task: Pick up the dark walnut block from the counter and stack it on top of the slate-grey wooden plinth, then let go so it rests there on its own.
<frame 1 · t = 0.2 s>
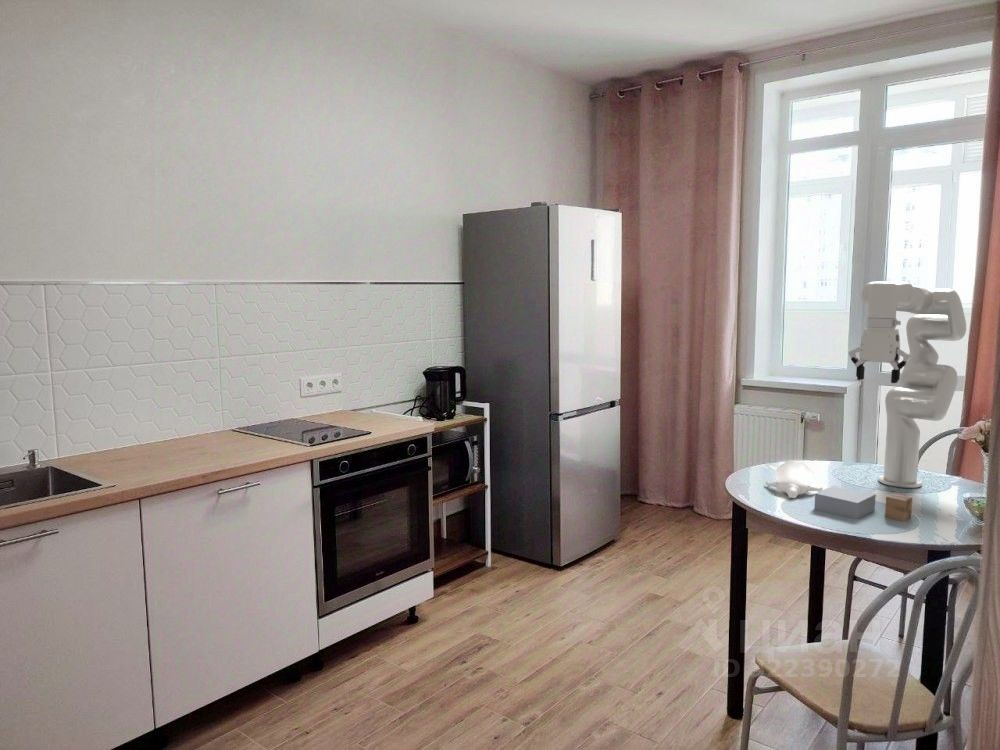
hand: (877, 381, 209), 36 cm above the table, fingers open, 9 cm apart
plinth: (844, 510, 203), on the table
figurine: (793, 489, 224), on the table
walnut block: (897, 517, 196), on the table
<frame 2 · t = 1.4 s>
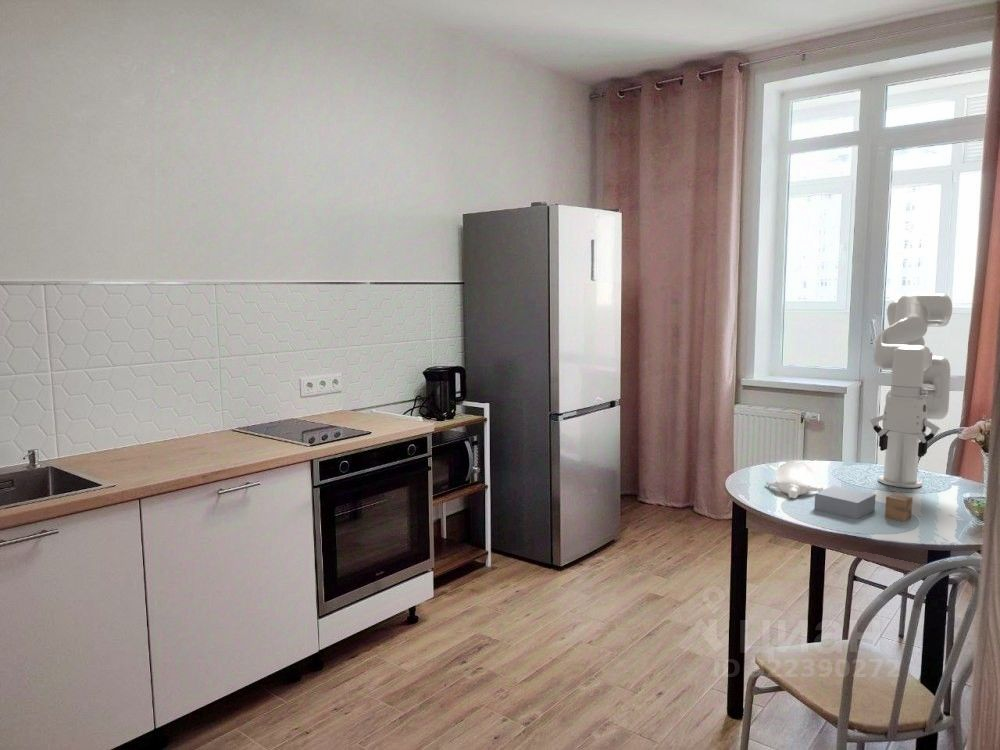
hand: (902, 452, 194), 19 cm above the table, fingers open, 9 cm apart
nothing on the table moved.
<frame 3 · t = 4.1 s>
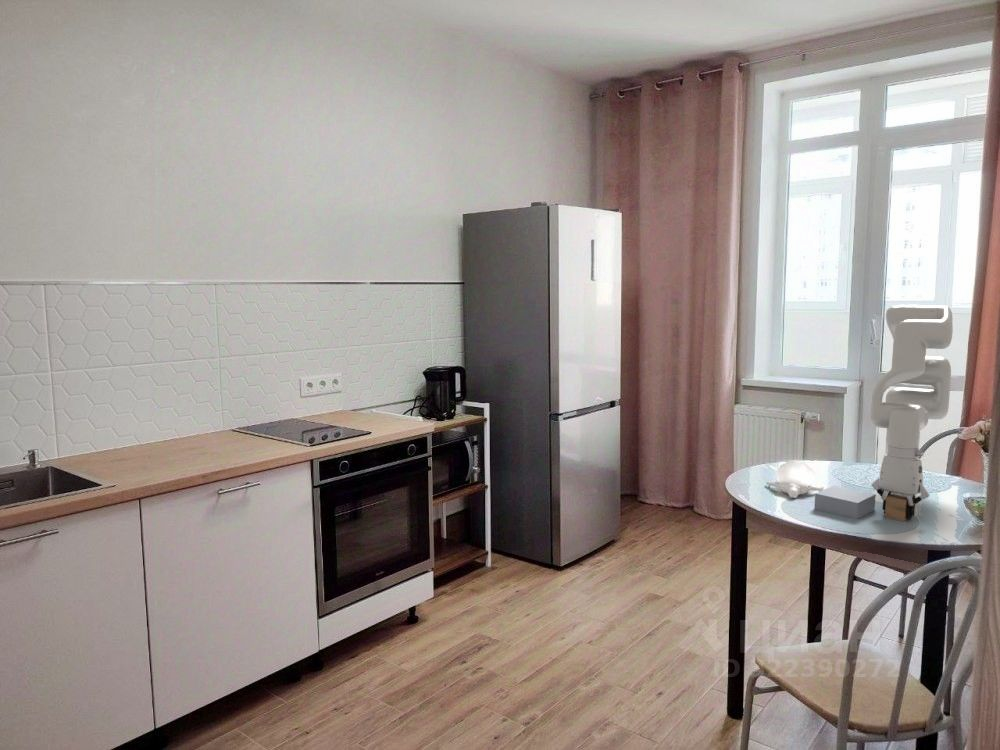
hand: (898, 514, 196), 1 cm above the table, fingers closed on walnut block, 5 cm apart
walnut block: (897, 517, 196), on the table, touching gripper
everything else where it was.
when the fingers open (7 cm above the table, at t = 8.9 s): walnut block drops 2 cm, resting on plinth.
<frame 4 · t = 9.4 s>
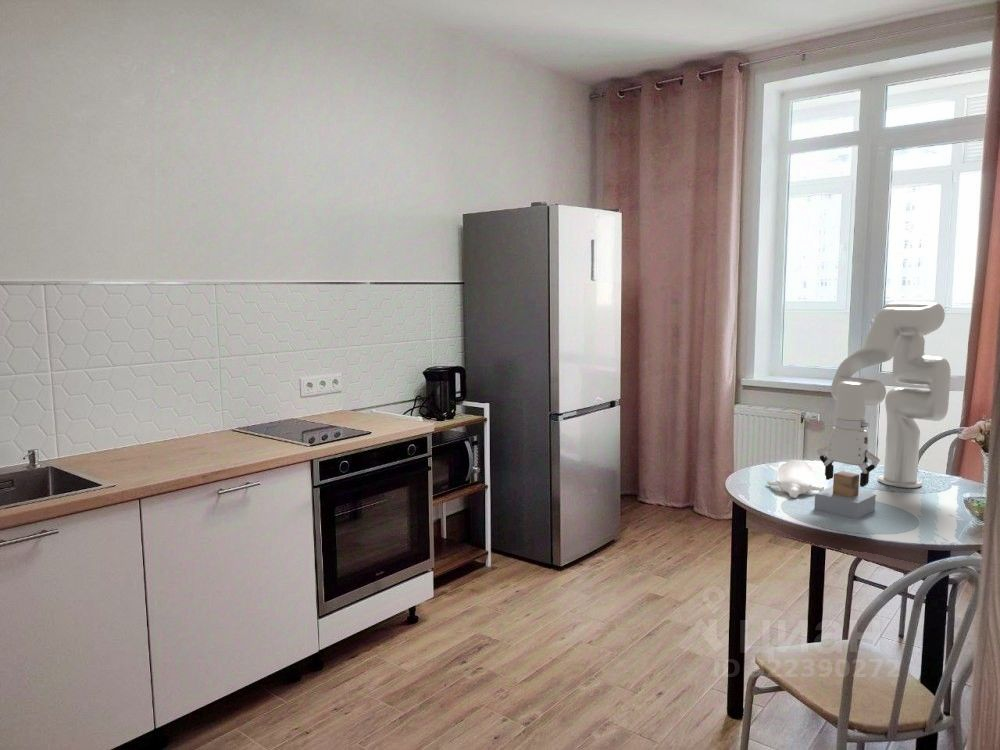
hand: (846, 482, 202), 8 cm above the table, fingers open, 9 cm apart
plinth: (844, 510, 203), on the table, touching walnut block
walnut block: (845, 494, 203), point 5 cm above the table, touching plinth
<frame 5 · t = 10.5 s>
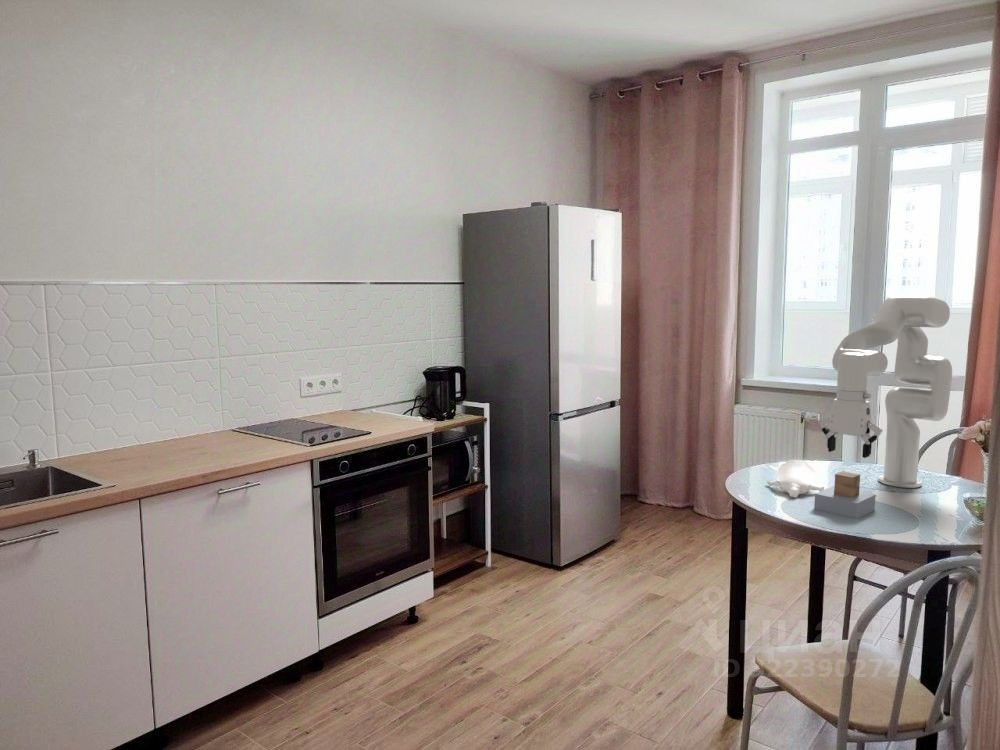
hand: (848, 453, 201), 16 cm above the table, fingers open, 9 cm apart
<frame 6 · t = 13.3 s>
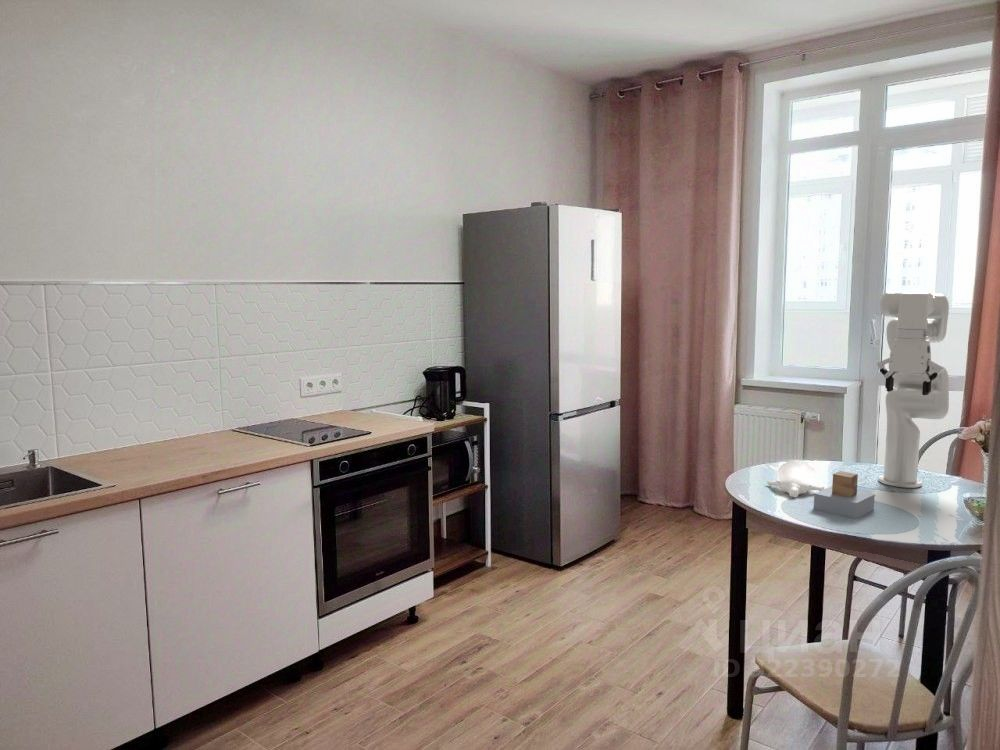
hand: (907, 392, 205), 33 cm above the table, fingers open, 9 cm apart
plinth: (843, 510, 203), on the table
walnut block: (844, 494, 203), point 5 cm above the table
at the end: walnut block inside the target area on the plinth (0.2 cm from its centre), point 5.0 cm above the plinth's base; walnut block tilted 1°; the gripper is holding nothing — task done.
